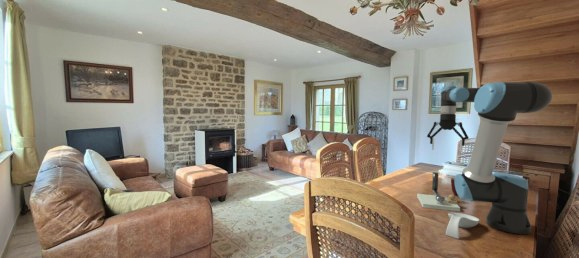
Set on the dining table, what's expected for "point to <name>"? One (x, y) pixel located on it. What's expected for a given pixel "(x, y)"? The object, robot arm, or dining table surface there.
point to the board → (433, 201)
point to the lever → (436, 187)
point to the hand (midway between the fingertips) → (446, 150)
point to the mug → (453, 186)
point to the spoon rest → (460, 223)
